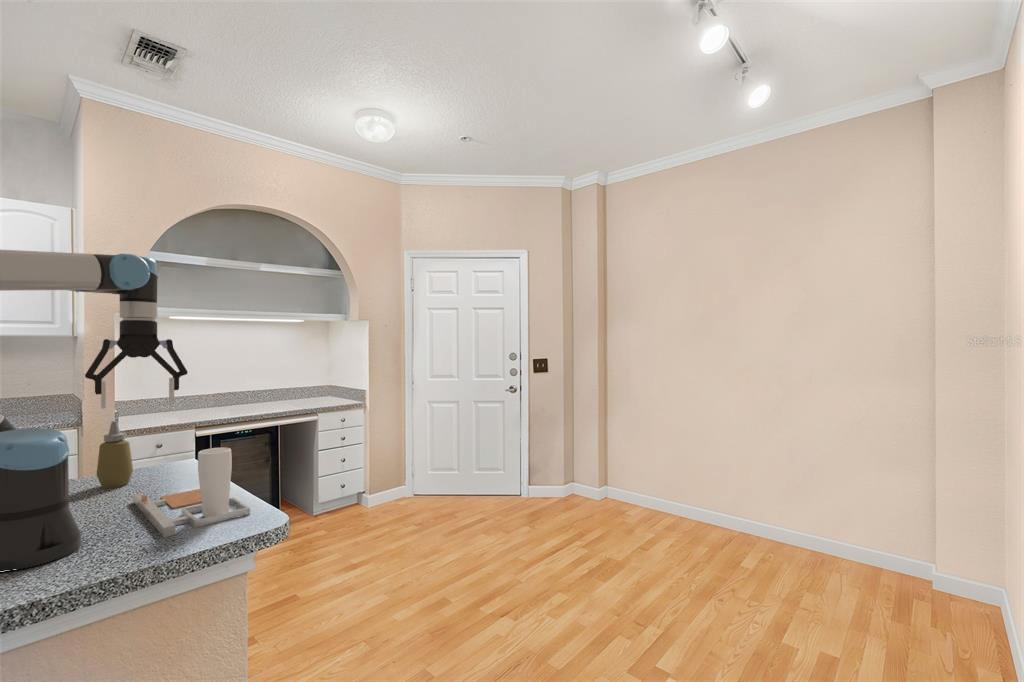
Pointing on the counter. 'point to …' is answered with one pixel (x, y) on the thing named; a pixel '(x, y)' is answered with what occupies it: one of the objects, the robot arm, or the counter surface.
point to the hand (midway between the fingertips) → (138, 405)
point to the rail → (182, 510)
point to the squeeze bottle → (114, 459)
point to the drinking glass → (214, 480)
